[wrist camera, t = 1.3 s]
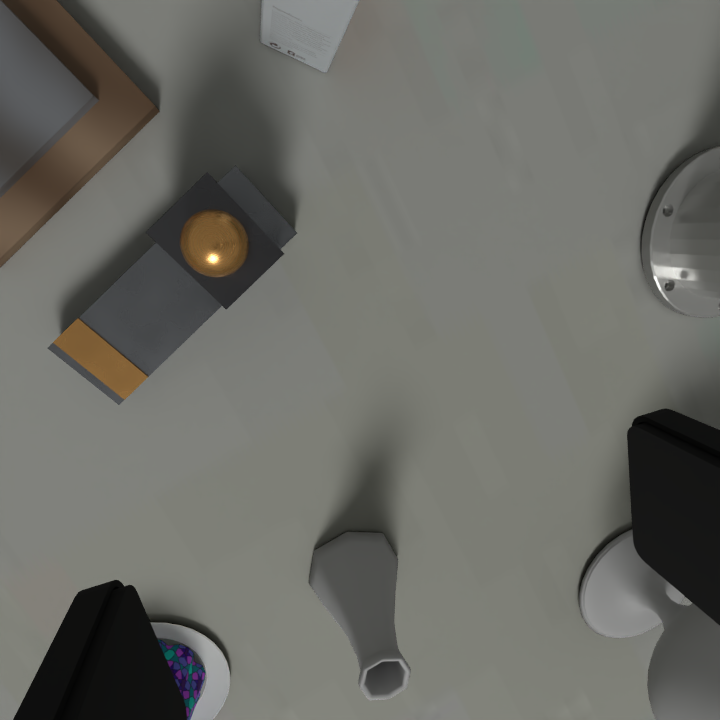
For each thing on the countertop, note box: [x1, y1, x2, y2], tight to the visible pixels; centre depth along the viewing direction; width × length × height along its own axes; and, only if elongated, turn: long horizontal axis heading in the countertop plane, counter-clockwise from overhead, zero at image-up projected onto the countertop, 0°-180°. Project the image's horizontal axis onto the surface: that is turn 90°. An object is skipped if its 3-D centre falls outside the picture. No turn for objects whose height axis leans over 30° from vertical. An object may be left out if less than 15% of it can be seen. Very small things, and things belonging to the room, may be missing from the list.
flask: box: [309, 532, 411, 700], centre depth 33 cm, size 7×7×10 cm
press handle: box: [146, 172, 284, 309], centre depth 24 cm, size 4×5×8 cm
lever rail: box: [48, 165, 297, 405], centre depth 29 cm, size 15×5×2 cm, turn 132°
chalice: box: [579, 529, 720, 720], centre depth 37 cm, size 14×14×15 cm
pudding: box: [150, 622, 230, 720], centre depth 34 cm, size 12×12×5 cm
